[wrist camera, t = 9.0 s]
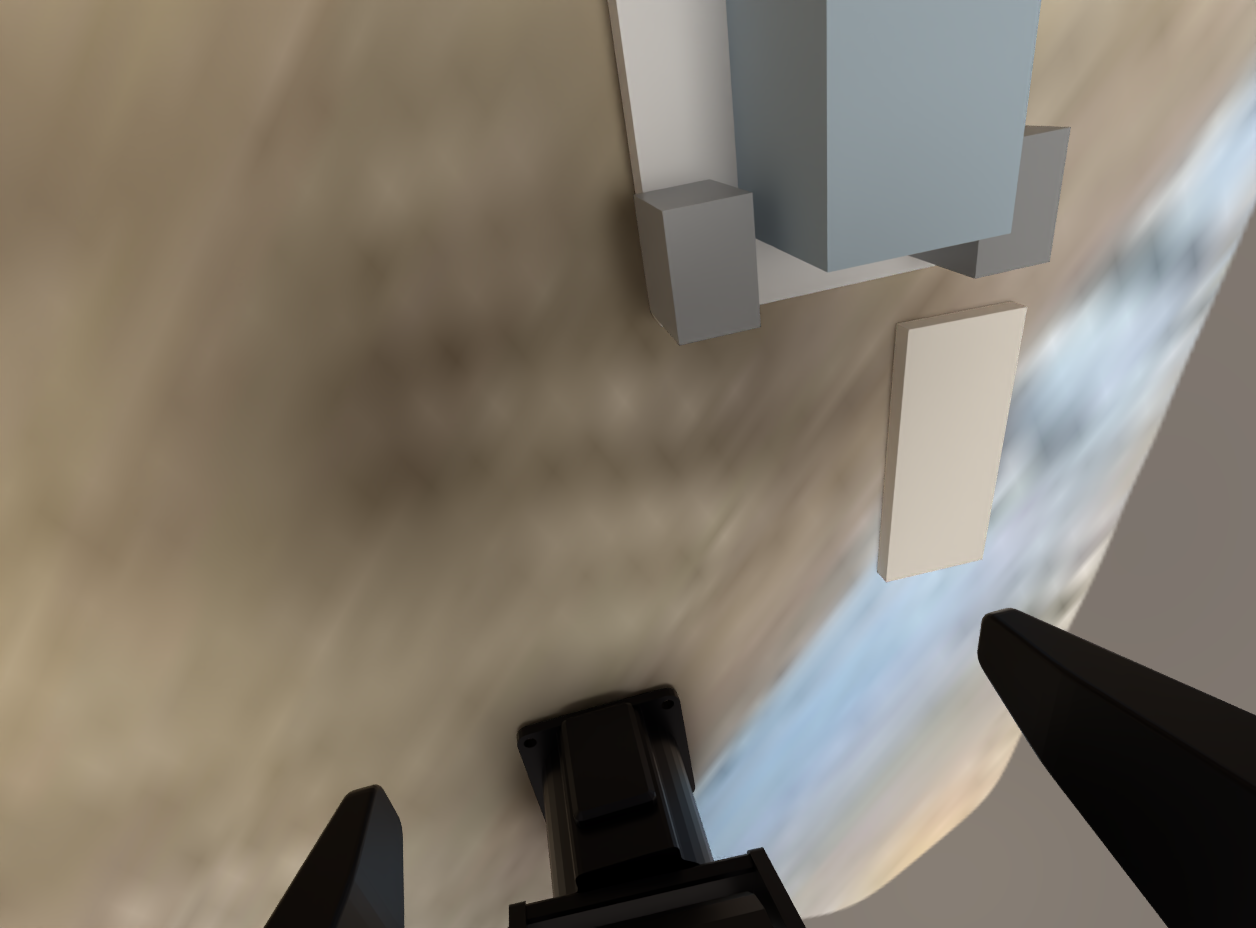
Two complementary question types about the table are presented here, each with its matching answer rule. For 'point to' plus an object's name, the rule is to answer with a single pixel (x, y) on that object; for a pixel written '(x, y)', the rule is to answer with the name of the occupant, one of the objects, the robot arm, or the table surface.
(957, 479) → the plank
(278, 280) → the table surface
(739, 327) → the jig
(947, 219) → the grey rectangular block
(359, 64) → the table surface
